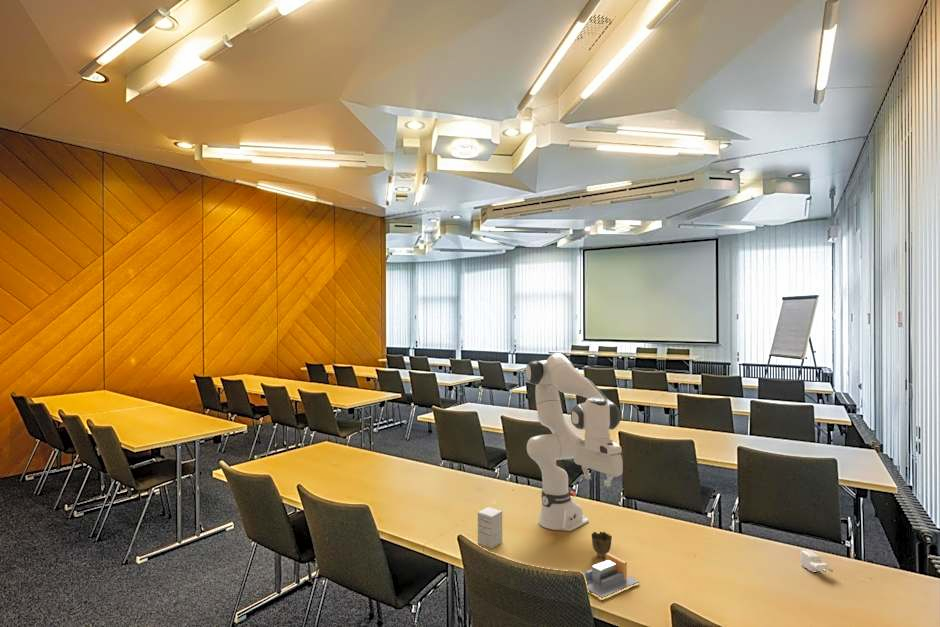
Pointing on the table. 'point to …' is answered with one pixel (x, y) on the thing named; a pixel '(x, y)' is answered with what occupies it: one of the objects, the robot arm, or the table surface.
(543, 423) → the robot arm
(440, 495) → the table surface
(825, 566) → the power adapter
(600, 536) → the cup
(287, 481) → the table surface
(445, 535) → the table surface
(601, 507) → the table surface
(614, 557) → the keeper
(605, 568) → the link block
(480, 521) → the supplement box
